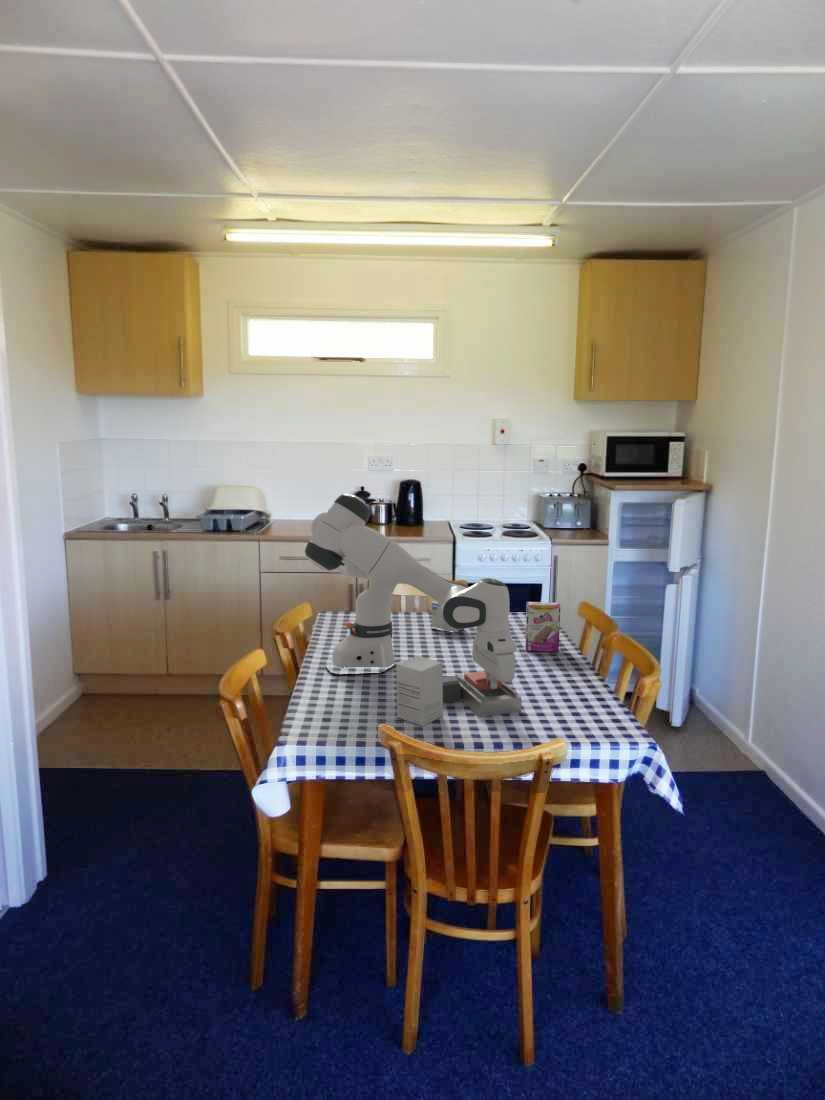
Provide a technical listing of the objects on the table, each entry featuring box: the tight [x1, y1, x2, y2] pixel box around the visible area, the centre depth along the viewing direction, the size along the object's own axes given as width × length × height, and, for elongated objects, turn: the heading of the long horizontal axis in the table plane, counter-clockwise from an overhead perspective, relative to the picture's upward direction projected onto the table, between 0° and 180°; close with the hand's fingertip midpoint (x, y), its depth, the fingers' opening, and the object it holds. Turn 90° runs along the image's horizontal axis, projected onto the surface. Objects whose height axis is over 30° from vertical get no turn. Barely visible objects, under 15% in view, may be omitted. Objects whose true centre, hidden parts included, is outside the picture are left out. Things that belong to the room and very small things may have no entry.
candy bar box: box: [524, 601, 561, 653], centre depth 255 cm, size 11×5×16 cm, turn 84°
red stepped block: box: [463, 670, 502, 691], centre depth 212 cm, size 8×9×3 cm
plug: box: [443, 675, 462, 704], centre depth 212 cm, size 6×5×6 cm
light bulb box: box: [430, 600, 462, 633], centre depth 282 cm, size 11×7×11 cm, turn 58°
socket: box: [454, 672, 522, 718], centre depth 211 cm, size 12×21×5 cm, turn 18°
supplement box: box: [395, 656, 444, 727], centre depth 198 cm, size 9×9×15 cm
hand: (491, 687), depth 206 cm, fingers closed
